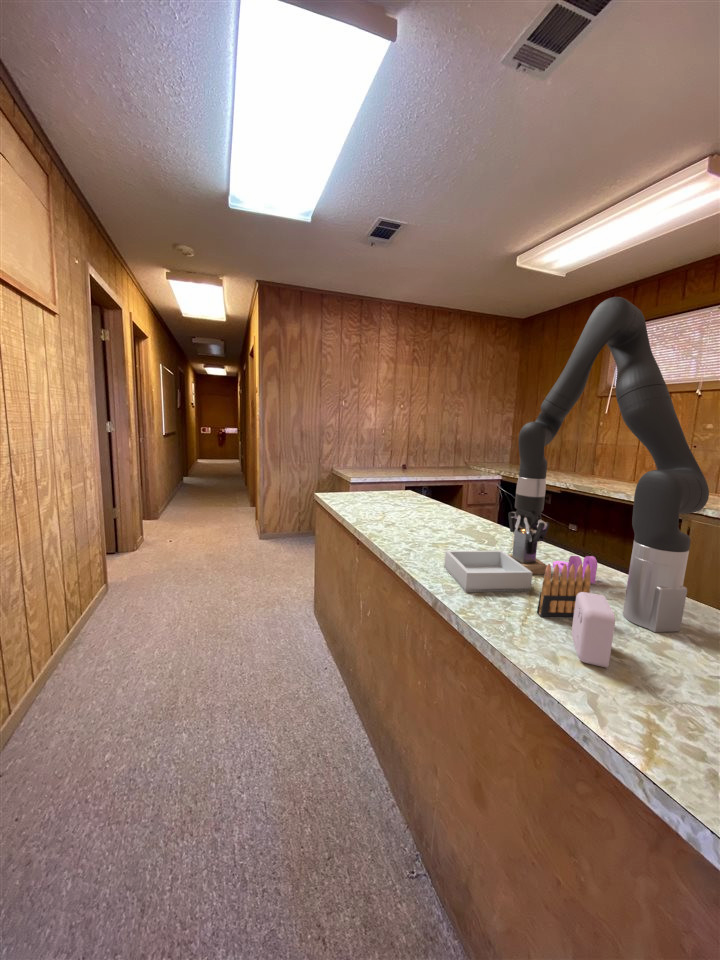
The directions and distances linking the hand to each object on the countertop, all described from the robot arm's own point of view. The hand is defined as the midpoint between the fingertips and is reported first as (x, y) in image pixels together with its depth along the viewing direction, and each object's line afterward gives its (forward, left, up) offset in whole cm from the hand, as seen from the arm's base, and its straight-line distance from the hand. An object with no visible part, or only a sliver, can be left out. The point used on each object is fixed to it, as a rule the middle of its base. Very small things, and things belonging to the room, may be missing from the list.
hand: (524, 550), depth 109 cm
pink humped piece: (-4, -12, -6) cm, 14 cm away
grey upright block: (0, 0, -3) cm, 3 cm away
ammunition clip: (-27, +6, -6) cm, 28 cm away
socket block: (0, 0, -5) cm, 5 cm away
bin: (-7, +15, -5) cm, 17 cm away
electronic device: (-40, +10, -6) cm, 41 cm away
